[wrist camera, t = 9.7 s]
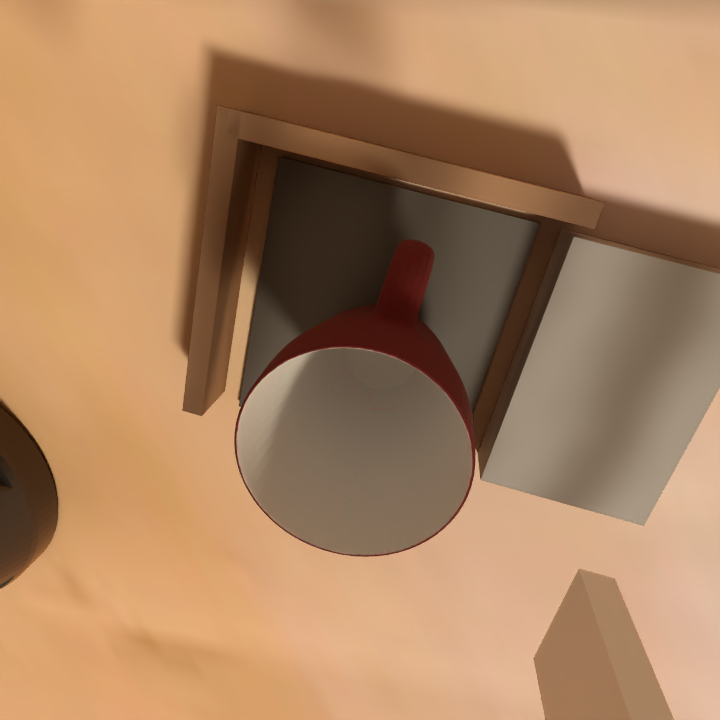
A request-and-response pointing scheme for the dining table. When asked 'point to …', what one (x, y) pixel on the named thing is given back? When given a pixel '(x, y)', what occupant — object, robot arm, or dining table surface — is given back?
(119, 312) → the dining table surface
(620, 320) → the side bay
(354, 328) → the mug
